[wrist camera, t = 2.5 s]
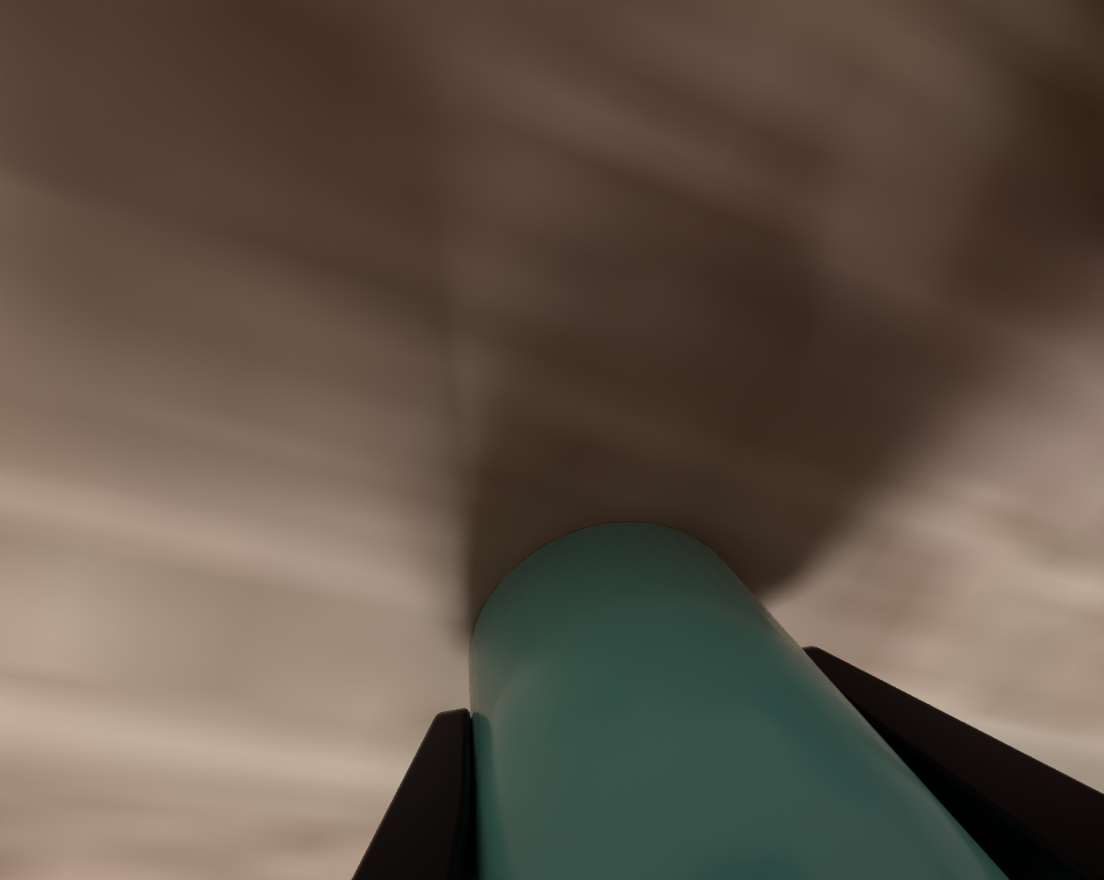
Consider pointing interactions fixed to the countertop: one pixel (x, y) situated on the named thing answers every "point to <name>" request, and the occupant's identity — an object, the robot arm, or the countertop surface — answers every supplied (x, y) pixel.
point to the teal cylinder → (677, 733)
